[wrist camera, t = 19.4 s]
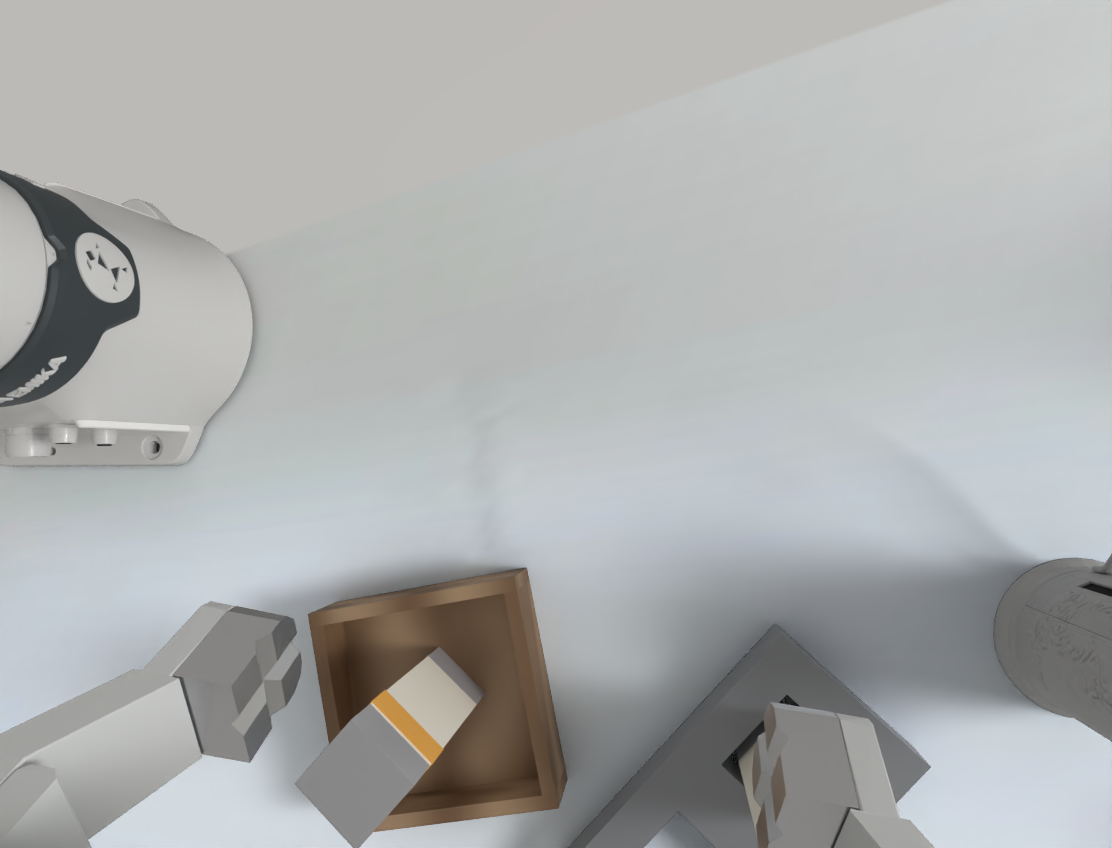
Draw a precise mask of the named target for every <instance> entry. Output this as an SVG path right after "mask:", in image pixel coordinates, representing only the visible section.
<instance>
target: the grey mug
mask: <svg viewBox="0 0 1112 848" xmlns="http://www.w3.org/2000/svg"><path fill="white" fill-rule="evenodd" d="M994 641H995V648H996V652H997V655H998V658H999V661H1000V663H1001V665H1002V667H1003V669H1004V671H1005V673H1006V675H1007V676H1008V677H1009V679H1010V680H1011V681H1012V683H1013V684H1014V685H1015V687H1016V688H1017V689H1019V690H1020V691H1021V692H1022V693H1023V694H1024V695H1025V696H1026V697H1027V698H1029V699H1030V700H1032V701H1033V702H1034V703H1036V704H1037V705H1039V706H1041V707H1043V708H1045V709H1047V710H1049V711H1051V712H1053V713H1056V714H1060V715H1063V716H1066V717H1070V718H1075V719H1077V720H1078V721H1080V722H1081V723H1083V724H1085V725H1086V726H1088V727H1089V728H1091V729H1093V730H1094V731H1096V732H1097V733H1099V734H1101V735H1102V736H1104V737H1105V738H1107V739H1108V740H1110V741H1112V554H1111V556H1110V557H1109V559H1108V560H1107V561H1106V563H1104V562H1100V561H1096V560H1092V559H1082V558H1067V559H1059V560H1054V561H1050V562H1046V563H1044V564H1041V565H1039V566H1037V567H1034V568H1033V569H1031V570H1029V571H1028V572H1026V573H1025V574H1023V575H1022V576H1021V577H1020V578H1018V579H1017V580H1016V581H1015V582H1014V583H1013V584H1012V585H1011V586H1010V588H1009V589H1008V591H1007V592H1006V593H1005V595H1004V596H1003V598H1002V600H1001V602H1000V605H999V607H998V610H997V613H996V617H995V622H994Z"/></svg>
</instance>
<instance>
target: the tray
mask: <svg viewBox="0 0 1112 848" xmlns="http://www.w3.org/2000/svg"><path fill="white" fill-rule="evenodd" d="M308 618H309V624H310V630H311V636H312V642H313V648H314V654H315V660H316V666H317V673H318V679H319V685H320V691H321V697H322V703H323V709H324V715H325V721H326V727H327V734H328V740H329V744H330V743H331V742H332V741H333V740H334V738H335V737H336V736H337V735H338V734H339V733H340V732H341V730H342V729H343V728H344V727H345V726H346V725H347V724H348V723H349V721H350V720H351V719H352V718H354V717H355V716H356V715H357V714H358V713H360V712H361V711H362V710H363V709H364V708H366V707H367V706H368V705H369V704H370V702H371V701H372V700H373V699H375V698H376V697H377V696H378V695H380V694H381V693H382V692H383V691H384V690H387V689H389V688H390V687H391V686H392V685H393V684H395V683H396V682H397V681H398V680H400V679H401V678H402V677H403V676H404V675H406V674H407V673H408V672H409V671H410V670H412V669H413V668H414V667H415V666H416V665H418V664H419V663H420V662H421V661H423V660H424V659H425V658H426V657H427V656H429V655H430V654H431V653H432V652H433V651H435V650H436V649H437V648H438V647H440V648H441V649H442V650H443V651H444V652H445V653H446V654H447V655H448V656H449V657H450V658H451V659H452V660H453V661H454V662H455V663H456V664H457V665H458V666H459V667H460V668H461V669H462V670H463V671H464V672H465V673H466V674H467V675H468V676H469V677H470V678H471V679H472V680H473V681H474V682H475V683H476V684H477V685H478V686H479V687H480V688H481V689H482V690H483V691H484V692H485V695H484V696H483V697H482V698H481V700H480V701H479V702H478V704H477V705H476V706H475V708H474V709H473V710H472V711H471V713H470V714H469V715H468V717H467V718H466V719H465V721H464V722H463V723H462V724H461V726H460V727H459V728H458V730H457V731H456V732H455V734H454V735H453V736H452V737H451V739H450V740H449V741H448V743H447V744H446V745H445V747H444V748H443V749H444V750H443V751H442V752H441V754H440V755H439V756H438V758H437V759H436V760H435V761H434V763H433V764H432V765H431V766H430V767H429V769H428V770H427V771H426V772H425V773H424V774H423V775H422V777H421V778H420V779H419V780H418V782H417V783H416V784H415V786H414V787H413V788H412V789H411V790H410V791H409V792H408V793H407V795H406V796H405V797H404V798H403V799H402V800H401V801H400V802H399V804H398V805H397V806H396V807H395V808H394V809H393V810H392V811H391V812H390V814H389V815H388V816H387V817H386V818H385V819H384V820H383V821H382V823H381V824H380V825H379V826H378V827H377V828H376V829H375V830H374V831H373V832H377V831H385V830H393V829H401V828H409V827H416V826H424V825H432V824H440V823H448V822H456V821H464V820H471V819H479V818H487V817H495V816H503V815H511V814H518V813H526V812H534V811H542V810H550V809H558V808H559V805H560V802H561V799H562V795H563V792H564V789H565V785H566V782H567V775H566V770H565V764H564V759H563V754H562V749H561V744H560V738H559V733H558V728H557V723H556V718H555V712H554V707H553V702H552V697H551V692H550V686H549V681H548V676H547V671H546V666H545V660H544V655H543V650H542V645H541V640H540V634H539V629H538V624H537V619H536V614H535V608H534V603H533V598H532V593H531V588H530V582H529V577H528V572H527V568H522V569H516V570H511V571H505V572H500V573H494V574H489V575H483V576H478V577H472V578H467V579H461V580H456V581H450V582H445V583H439V584H434V585H428V586H423V587H417V588H412V589H406V590H401V591H395V592H390V593H384V594H379V595H373V596H368V597H362V598H357V599H351V600H346V601H340V602H335V603H333V604H331V605H328V606H326V607H324V608H321V609H319V610H317V611H315V612H312V613H310V614H308Z"/></svg>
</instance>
